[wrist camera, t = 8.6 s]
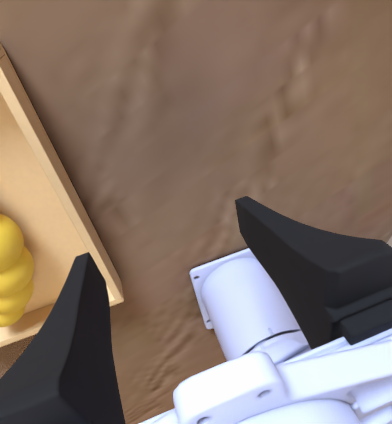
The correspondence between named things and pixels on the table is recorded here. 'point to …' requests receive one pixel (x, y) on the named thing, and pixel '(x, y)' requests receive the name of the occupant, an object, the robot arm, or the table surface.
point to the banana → (14, 272)
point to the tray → (42, 207)
